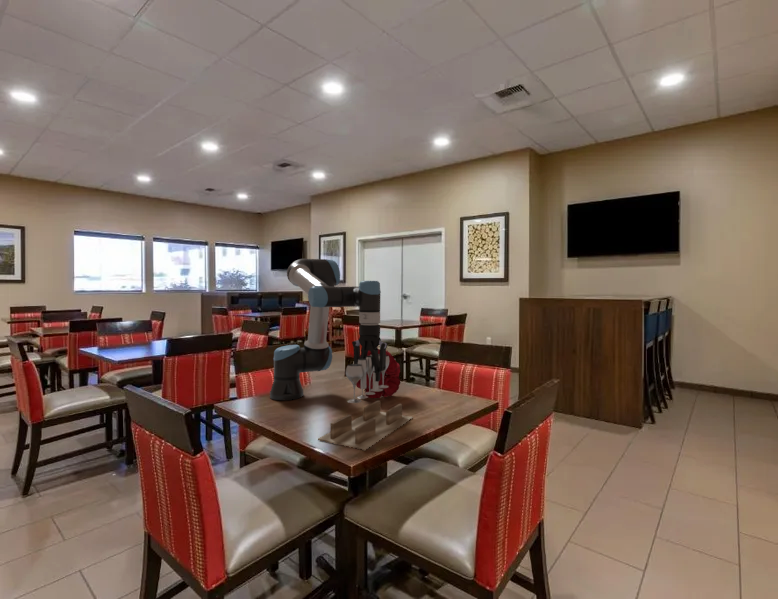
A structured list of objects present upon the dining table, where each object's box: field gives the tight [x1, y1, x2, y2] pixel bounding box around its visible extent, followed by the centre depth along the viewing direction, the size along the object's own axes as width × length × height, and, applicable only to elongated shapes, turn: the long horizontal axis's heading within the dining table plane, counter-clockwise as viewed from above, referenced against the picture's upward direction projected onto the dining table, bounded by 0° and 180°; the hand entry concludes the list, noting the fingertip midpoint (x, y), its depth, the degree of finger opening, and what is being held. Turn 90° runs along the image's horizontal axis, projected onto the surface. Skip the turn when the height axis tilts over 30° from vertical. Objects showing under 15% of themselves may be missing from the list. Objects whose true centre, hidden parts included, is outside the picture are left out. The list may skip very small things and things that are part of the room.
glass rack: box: [317, 400, 414, 451], centre depth 145 cm, size 18×36×6 cm, turn 153°
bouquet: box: [356, 348, 401, 399], centre depth 191 cm, size 22×24×30 cm
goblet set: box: [345, 354, 389, 404], centre depth 145 cm, size 28×6×13 cm, turn 156°
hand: (369, 389), depth 145 cm, fingers closed on goblet set, 4 cm apart
